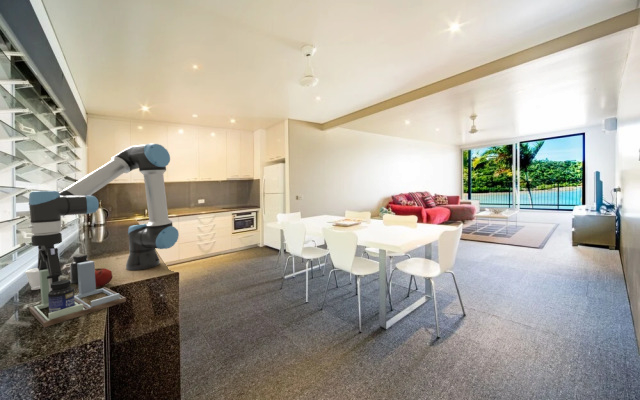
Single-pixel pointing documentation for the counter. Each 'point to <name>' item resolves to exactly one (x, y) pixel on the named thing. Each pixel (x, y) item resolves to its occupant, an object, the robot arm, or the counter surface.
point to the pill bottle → (61, 296)
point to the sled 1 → (44, 299)
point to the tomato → (102, 276)
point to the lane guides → (79, 313)
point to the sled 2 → (91, 285)
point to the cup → (33, 278)
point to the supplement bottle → (74, 266)
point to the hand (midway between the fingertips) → (50, 291)
